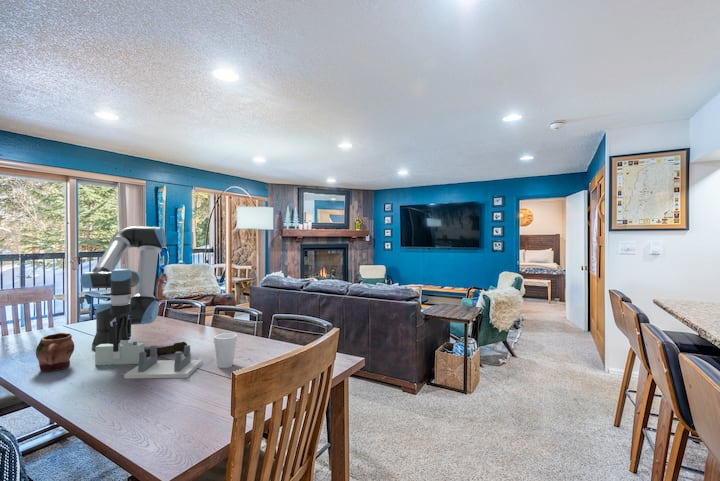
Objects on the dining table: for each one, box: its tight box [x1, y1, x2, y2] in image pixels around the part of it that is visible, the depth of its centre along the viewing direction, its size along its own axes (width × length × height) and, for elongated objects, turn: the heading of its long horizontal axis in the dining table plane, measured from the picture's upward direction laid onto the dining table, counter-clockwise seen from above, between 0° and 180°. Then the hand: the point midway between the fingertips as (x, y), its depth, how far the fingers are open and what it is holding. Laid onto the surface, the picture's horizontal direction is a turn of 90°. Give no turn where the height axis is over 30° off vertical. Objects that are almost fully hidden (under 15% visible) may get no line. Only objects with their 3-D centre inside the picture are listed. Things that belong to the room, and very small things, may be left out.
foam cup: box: [213, 332, 238, 369], centre depth 153 cm, size 10×9×13 cm
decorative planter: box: [35, 332, 75, 373], centre depth 146 cm, size 20×12×14 cm, turn 36°
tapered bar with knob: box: [94, 341, 145, 366], centre depth 155 cm, size 4×18×9 cm, turn 98°
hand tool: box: [144, 341, 188, 358], centre depth 168 cm, size 19×4×5 cm, turn 125°
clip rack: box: [123, 344, 203, 379], centre depth 147 cm, size 16×24×9 cm, turn 94°
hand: (120, 356), depth 155 cm, fingers closed on tapered bar with knob, 4 cm apart
